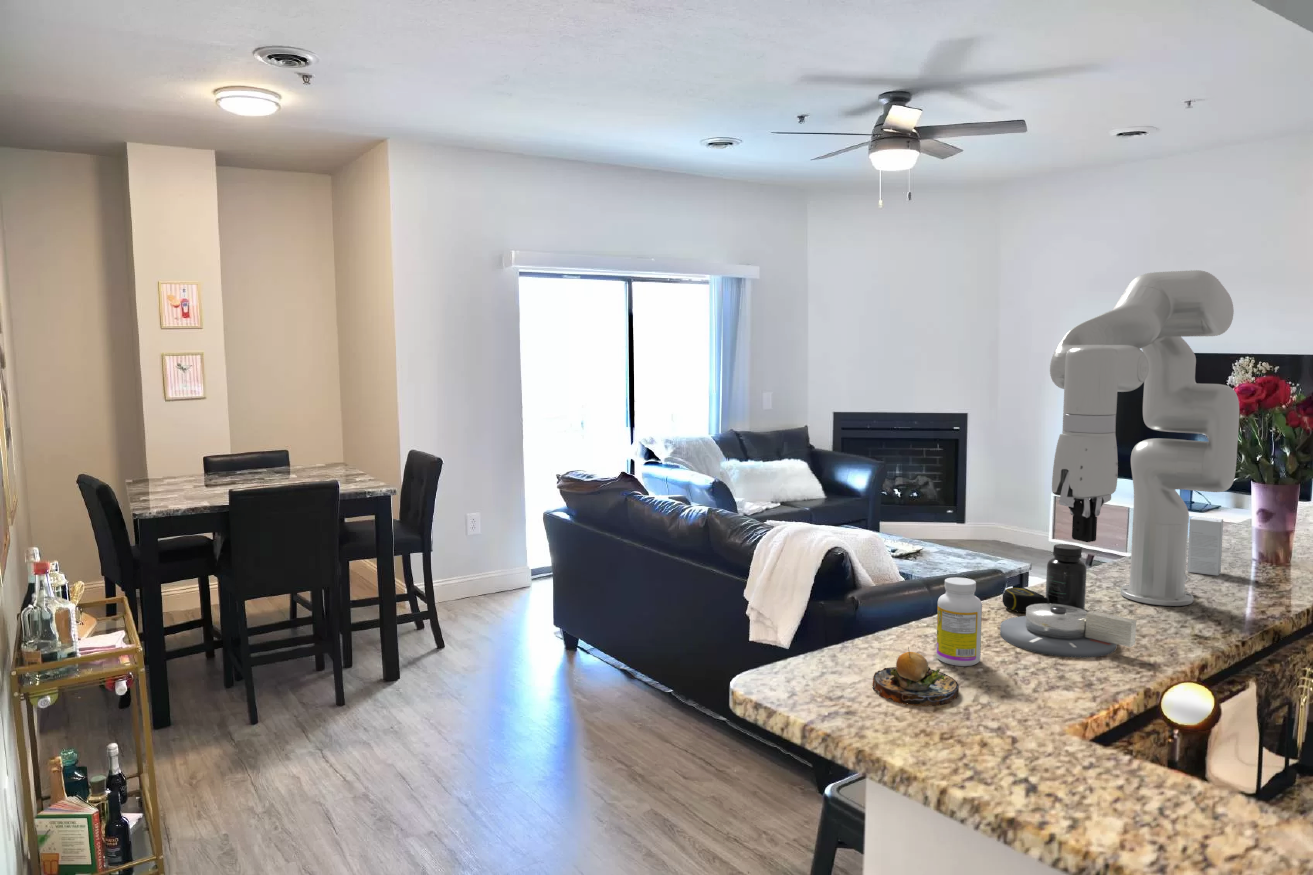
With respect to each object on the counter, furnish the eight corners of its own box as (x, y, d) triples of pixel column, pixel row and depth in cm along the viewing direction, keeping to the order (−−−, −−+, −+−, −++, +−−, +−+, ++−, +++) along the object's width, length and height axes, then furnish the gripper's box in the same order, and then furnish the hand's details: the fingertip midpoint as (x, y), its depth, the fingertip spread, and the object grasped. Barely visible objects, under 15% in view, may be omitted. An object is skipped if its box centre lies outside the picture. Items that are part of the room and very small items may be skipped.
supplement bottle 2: (1065, 602, 175) (1068, 541, 173) (1093, 611, 168) (1096, 549, 167) (1037, 605, 172) (1039, 544, 171) (1063, 615, 166) (1066, 551, 165)
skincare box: (1221, 572, 198) (1224, 519, 197) (1218, 576, 194) (1221, 522, 193) (1189, 568, 201) (1192, 515, 200) (1186, 572, 198) (1189, 518, 197)
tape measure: (1049, 614, 167) (1050, 594, 167) (1017, 617, 166) (1018, 597, 165) (1025, 604, 174) (1026, 585, 173) (994, 606, 172) (995, 587, 172)
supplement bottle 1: (948, 650, 147) (951, 573, 146) (987, 660, 142) (990, 580, 141) (928, 660, 142) (930, 580, 141) (967, 670, 137) (970, 588, 136)
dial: (1014, 628, 152) (1015, 604, 152) (1041, 616, 159) (1042, 594, 159) (1120, 653, 140) (1121, 627, 139) (1144, 639, 146) (1145, 615, 146)
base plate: (1033, 617, 165) (1033, 609, 165) (1135, 641, 151) (1135, 633, 151) (979, 637, 153) (979, 628, 153) (1085, 665, 140) (1085, 656, 139)
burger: (975, 697, 128) (977, 646, 127) (918, 715, 122) (919, 661, 121) (910, 671, 138) (912, 624, 137) (854, 686, 132) (855, 637, 131)
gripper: (1099, 421, 148) (1094, 531, 149) (1035, 425, 141) (1031, 540, 143) (1142, 425, 141) (1136, 540, 143) (1077, 429, 134) (1072, 550, 136)
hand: (1083, 540), depth 143 cm, fingers closed
